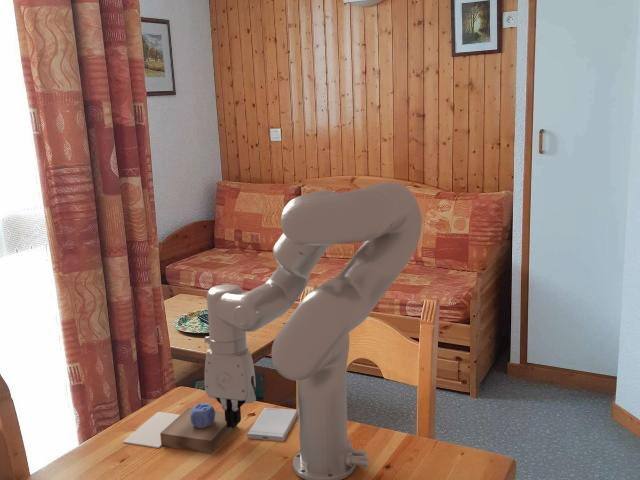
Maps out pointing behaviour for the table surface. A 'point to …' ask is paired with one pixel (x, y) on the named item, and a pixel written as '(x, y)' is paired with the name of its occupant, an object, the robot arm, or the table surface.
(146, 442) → the mat
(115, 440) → the table surface
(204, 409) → the decorative dice
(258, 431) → the hard drive
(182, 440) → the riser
